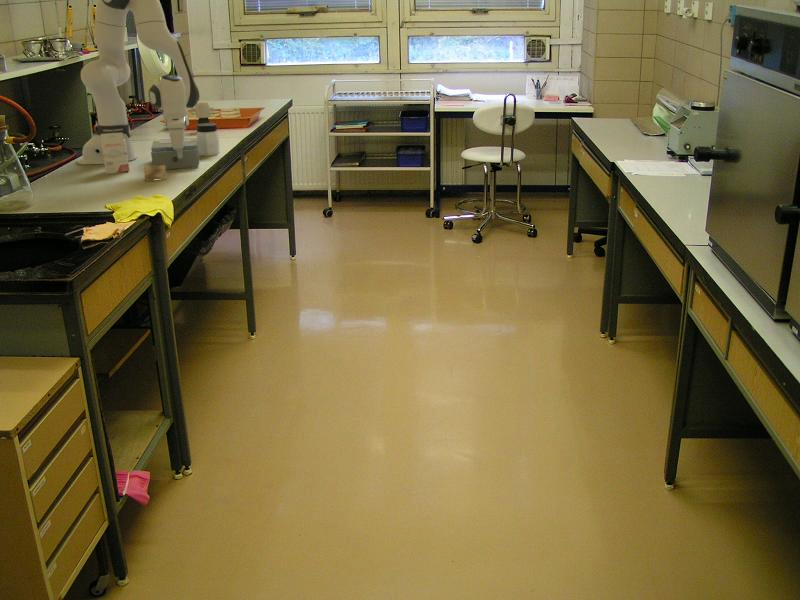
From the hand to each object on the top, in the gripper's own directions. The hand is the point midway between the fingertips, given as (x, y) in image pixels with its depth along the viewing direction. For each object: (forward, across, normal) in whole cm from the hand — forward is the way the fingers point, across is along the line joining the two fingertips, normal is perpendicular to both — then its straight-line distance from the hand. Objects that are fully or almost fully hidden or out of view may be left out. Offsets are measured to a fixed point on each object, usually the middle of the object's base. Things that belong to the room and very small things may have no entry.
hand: (180, 157), depth 320 cm
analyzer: (+4, -16, -2) cm, 16 cm away
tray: (+4, -9, -2) cm, 10 cm away
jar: (+5, -30, +10) cm, 32 cm away
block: (+4, +14, -9) cm, 17 cm away
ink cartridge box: (+5, -4, -24) cm, 25 cm away
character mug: (+5, -91, +8) cm, 91 cm away
